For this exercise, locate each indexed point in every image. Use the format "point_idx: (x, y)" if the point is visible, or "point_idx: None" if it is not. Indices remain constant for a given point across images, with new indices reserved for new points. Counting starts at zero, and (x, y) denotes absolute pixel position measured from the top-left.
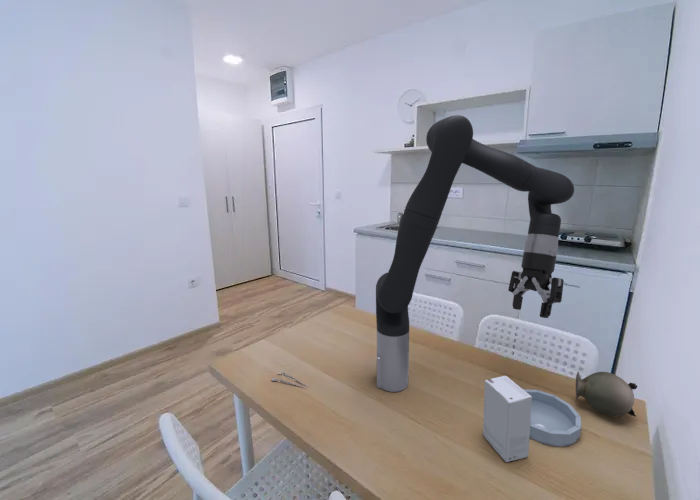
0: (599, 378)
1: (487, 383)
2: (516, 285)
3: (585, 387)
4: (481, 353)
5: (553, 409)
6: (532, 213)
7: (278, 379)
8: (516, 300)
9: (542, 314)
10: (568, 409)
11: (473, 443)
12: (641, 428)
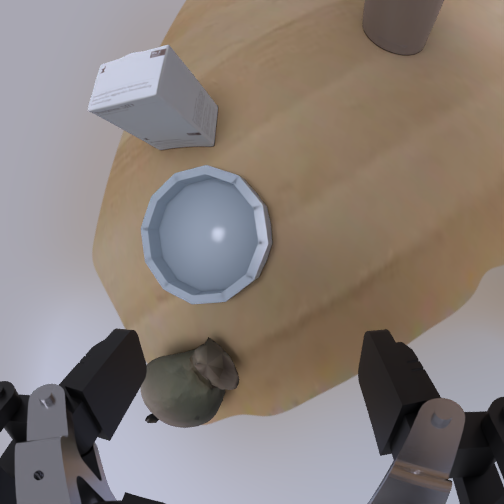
0: (172, 389)
1: (159, 47)
2: (487, 496)
3: (190, 359)
4: (456, 291)
5: (219, 280)
6: None
7: None
8: (387, 376)
9: (110, 336)
10: (190, 292)
11: (209, 85)
12: None
